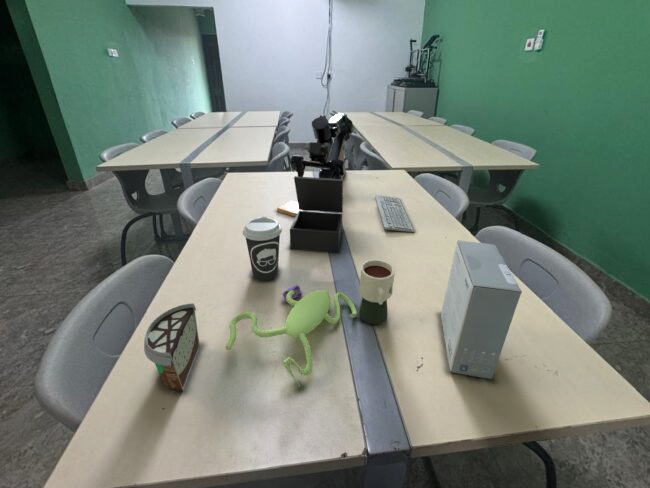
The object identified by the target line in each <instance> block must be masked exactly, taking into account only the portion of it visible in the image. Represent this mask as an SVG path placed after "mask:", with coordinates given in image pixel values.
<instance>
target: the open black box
mask: <svg viewBox="0 0 650 488" xmlns="http://www.w3.org/2000/svg"><path fill="white" fill-rule="evenodd" d="M343 214H344V213H339V212H325V211H311V210H307V211H304V210H299V212H298V214H297V216H296V217H294V220H293V221H292V223H291V226H290V228H289V247H290V250H302V251H315V252H326V253H337V254H338V253H339V249H340V245H341V244H340V243H341V238H342V232H343Z"/></svg>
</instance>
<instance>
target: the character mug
mask: <svg viewBox="0 0 650 488" xmlns="http://www.w3.org/2000/svg"><path fill="white" fill-rule="evenodd" d="M395 273H396V269H395V267H394V266H393V265H392V264H390V262H388V261H385V260H382V259H369V260H367V261H364V262H363V263H362V264H361V266H360V275H359V276H360V277H359V288H358V292H359V295H360V296H361V301H360V305H359V310H358V311H359V312H358V313H359V315H358V316H359V318H360V319H361V320H362V321H363V322H365V323H368V324H370V325H371V324H372V325H382V324H383V323H385V322H386V321H387V319H388V300H389V299H390V298H391V297H392V295H393V289H394V282H395V275H396V274H395Z"/></svg>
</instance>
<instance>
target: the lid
mask: <svg viewBox="0 0 650 488" xmlns="http://www.w3.org/2000/svg"><path fill="white" fill-rule="evenodd" d="M293 180H294V187H295V188H294V189H295V194H296V199H297V200H296V201H297V202H298V207H299V210H307V211H318V212H332V213H343V210H344V191H343V190H344V178H343V179H329V178H319V177H312V176H311V177H310V176H303V177H298V175H297V176H294V177H293ZM343 214H344V213H343Z"/></svg>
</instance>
